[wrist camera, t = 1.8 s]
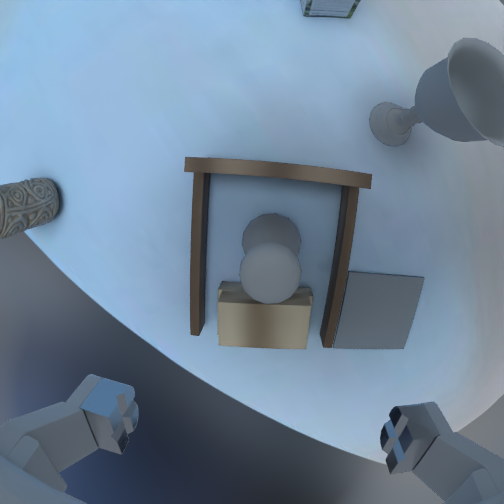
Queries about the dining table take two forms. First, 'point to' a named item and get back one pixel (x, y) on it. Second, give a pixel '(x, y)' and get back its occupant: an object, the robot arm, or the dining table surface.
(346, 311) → the slate mat
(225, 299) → the offcut upper
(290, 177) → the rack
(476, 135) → the chalice
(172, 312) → the dining table surface
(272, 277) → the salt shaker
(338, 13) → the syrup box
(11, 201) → the carving
